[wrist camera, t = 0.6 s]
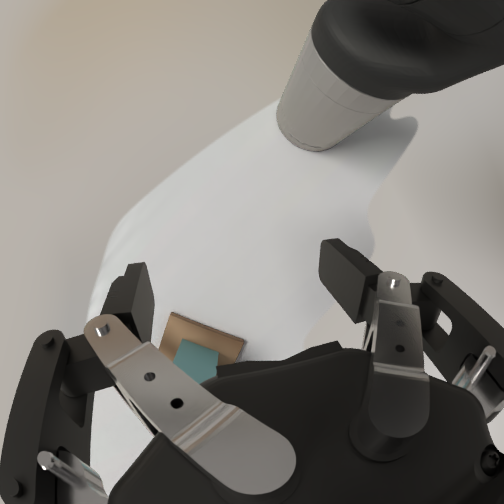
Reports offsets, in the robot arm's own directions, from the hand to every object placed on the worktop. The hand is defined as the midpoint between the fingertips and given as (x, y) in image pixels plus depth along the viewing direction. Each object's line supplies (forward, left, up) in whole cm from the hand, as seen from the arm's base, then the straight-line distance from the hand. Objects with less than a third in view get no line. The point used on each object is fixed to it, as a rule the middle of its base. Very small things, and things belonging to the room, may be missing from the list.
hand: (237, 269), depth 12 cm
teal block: (+17, +1, -20) cm, 26 cm away
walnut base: (+17, +1, -21) cm, 27 cm away
